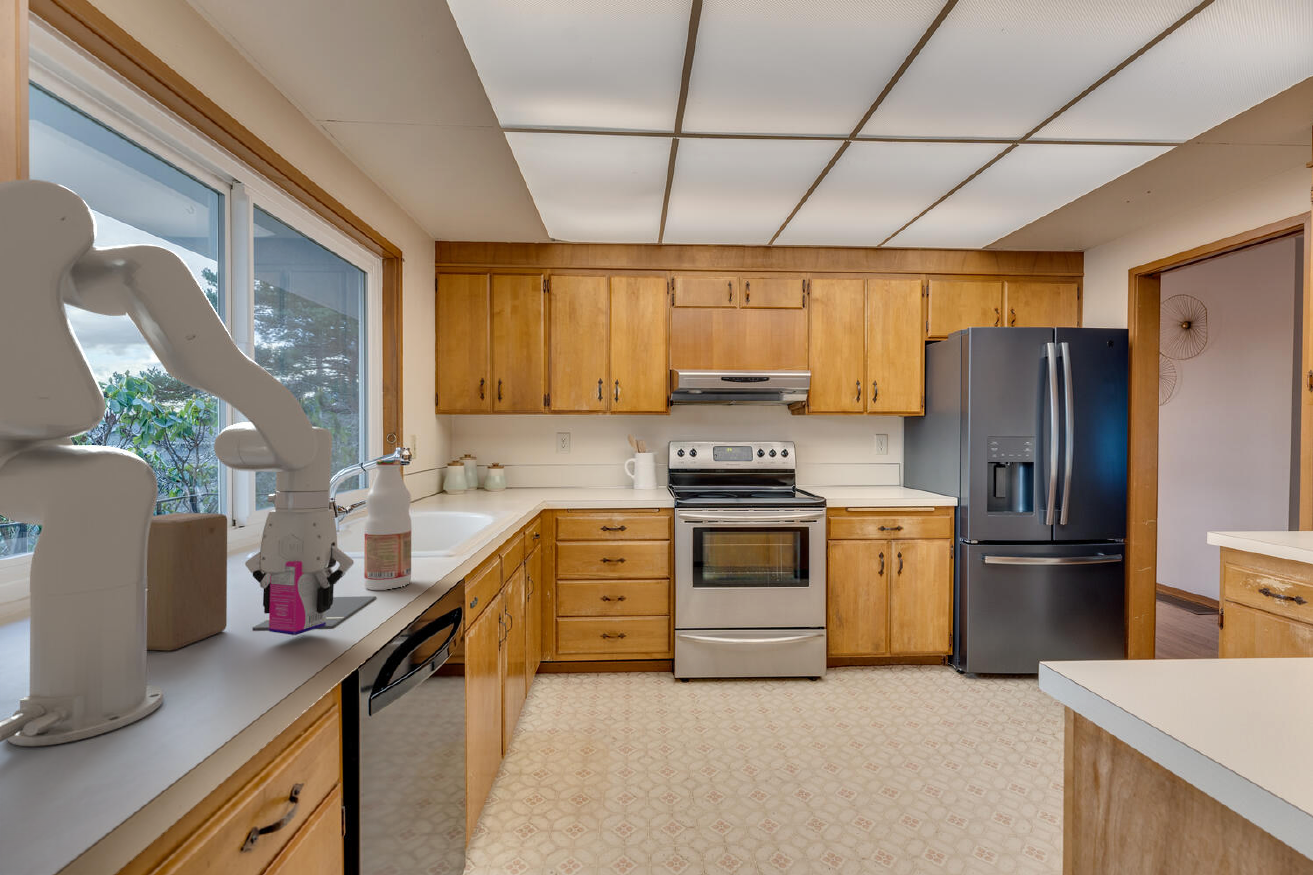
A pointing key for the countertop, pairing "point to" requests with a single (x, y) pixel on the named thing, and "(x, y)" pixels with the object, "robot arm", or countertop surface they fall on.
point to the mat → (335, 611)
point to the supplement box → (294, 601)
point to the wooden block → (186, 579)
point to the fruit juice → (387, 530)
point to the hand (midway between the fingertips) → (298, 610)
